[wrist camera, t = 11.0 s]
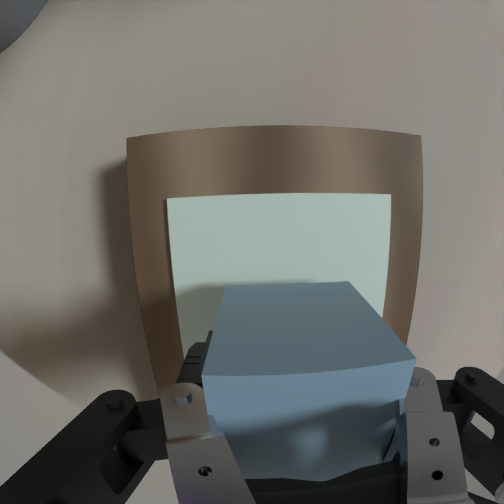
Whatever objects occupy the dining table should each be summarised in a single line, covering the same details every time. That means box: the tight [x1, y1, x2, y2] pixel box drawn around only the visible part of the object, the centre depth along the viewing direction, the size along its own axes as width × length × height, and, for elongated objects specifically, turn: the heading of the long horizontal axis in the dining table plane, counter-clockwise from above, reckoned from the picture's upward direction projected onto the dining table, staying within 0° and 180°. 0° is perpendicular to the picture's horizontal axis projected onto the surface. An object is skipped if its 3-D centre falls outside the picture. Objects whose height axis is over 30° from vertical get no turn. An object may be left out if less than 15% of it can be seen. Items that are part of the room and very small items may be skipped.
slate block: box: [201, 281, 417, 481], centre depth 9 cm, size 5×5×6 cm
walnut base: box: [127, 125, 423, 396], centre depth 16 cm, size 14×18×4 cm
